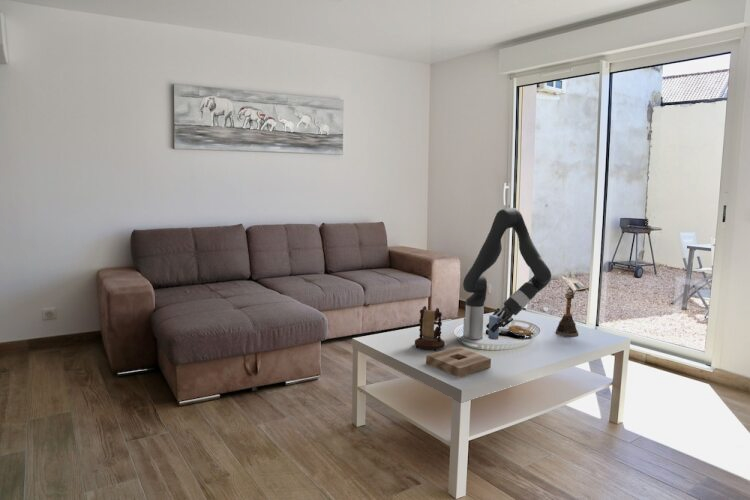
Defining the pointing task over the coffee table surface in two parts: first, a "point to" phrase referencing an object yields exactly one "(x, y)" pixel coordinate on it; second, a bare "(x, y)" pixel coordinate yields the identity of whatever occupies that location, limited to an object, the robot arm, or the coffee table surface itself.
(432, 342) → the scroll
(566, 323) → the bird statue
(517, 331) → the decorative rock
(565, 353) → the coffee table surface
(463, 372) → the socket block
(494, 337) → the peg
